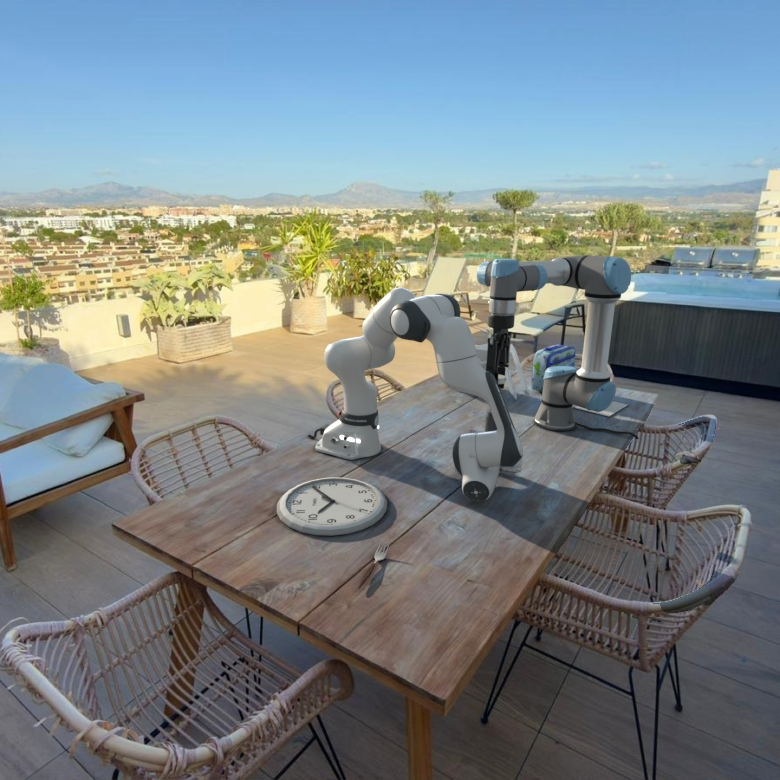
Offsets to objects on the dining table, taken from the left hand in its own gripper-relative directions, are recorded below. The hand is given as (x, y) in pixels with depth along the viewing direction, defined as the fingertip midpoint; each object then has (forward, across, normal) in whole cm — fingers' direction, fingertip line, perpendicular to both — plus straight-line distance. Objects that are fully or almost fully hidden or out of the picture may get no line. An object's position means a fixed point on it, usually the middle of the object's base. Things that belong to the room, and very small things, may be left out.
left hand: (490, 449), depth 165 cm
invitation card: (+77, -38, +6) cm, 86 cm away
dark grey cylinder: (-1, 0, +6) cm, 6 cm away
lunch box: (+96, -17, +6) cm, 98 cm away
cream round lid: (-1, 0, -24) cm, 24 cm away
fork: (-61, +18, +6) cm, 64 cm away
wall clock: (-39, +37, +6) cm, 54 cm away
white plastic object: (+79, +15, +6) cm, 80 cm away
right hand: (-1, 0, -20) cm, 20 cm away
